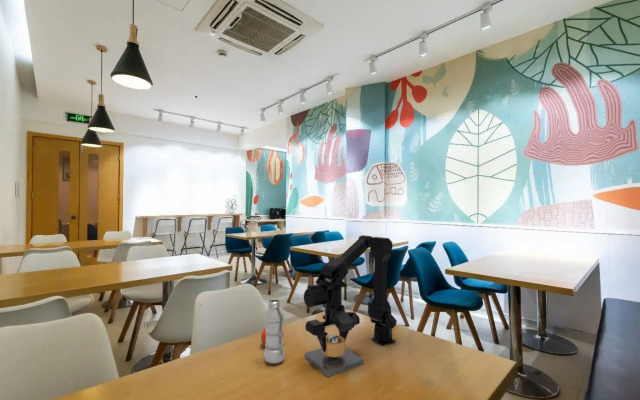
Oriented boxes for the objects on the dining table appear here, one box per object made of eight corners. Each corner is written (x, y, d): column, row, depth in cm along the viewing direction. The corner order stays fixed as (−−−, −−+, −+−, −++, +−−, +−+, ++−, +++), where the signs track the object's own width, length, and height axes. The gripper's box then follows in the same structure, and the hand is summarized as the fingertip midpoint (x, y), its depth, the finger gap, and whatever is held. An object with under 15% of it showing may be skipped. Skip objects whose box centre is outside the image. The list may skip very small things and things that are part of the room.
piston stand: (338, 347, 108) (337, 325, 109) (363, 364, 97) (363, 339, 97) (304, 357, 101) (304, 333, 101) (327, 376, 89) (327, 350, 89)
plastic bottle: (280, 367, 94) (280, 304, 95) (260, 365, 96) (261, 303, 96) (286, 357, 101) (287, 298, 101) (268, 356, 102) (268, 297, 103)
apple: (286, 347, 109) (286, 325, 109) (266, 353, 104) (266, 330, 104) (277, 339, 115) (277, 318, 115) (257, 344, 111) (257, 323, 111)
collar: (336, 345, 104) (336, 333, 104) (348, 353, 98) (348, 340, 98) (319, 350, 100) (319, 338, 100) (330, 358, 94) (330, 346, 94)
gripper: (323, 313, 88) (323, 367, 87) (370, 303, 98) (370, 351, 97) (304, 303, 97) (304, 352, 97) (349, 294, 107) (349, 338, 107)
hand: (333, 348), depth 99 cm, fingers closed on collar, 7 cm apart
